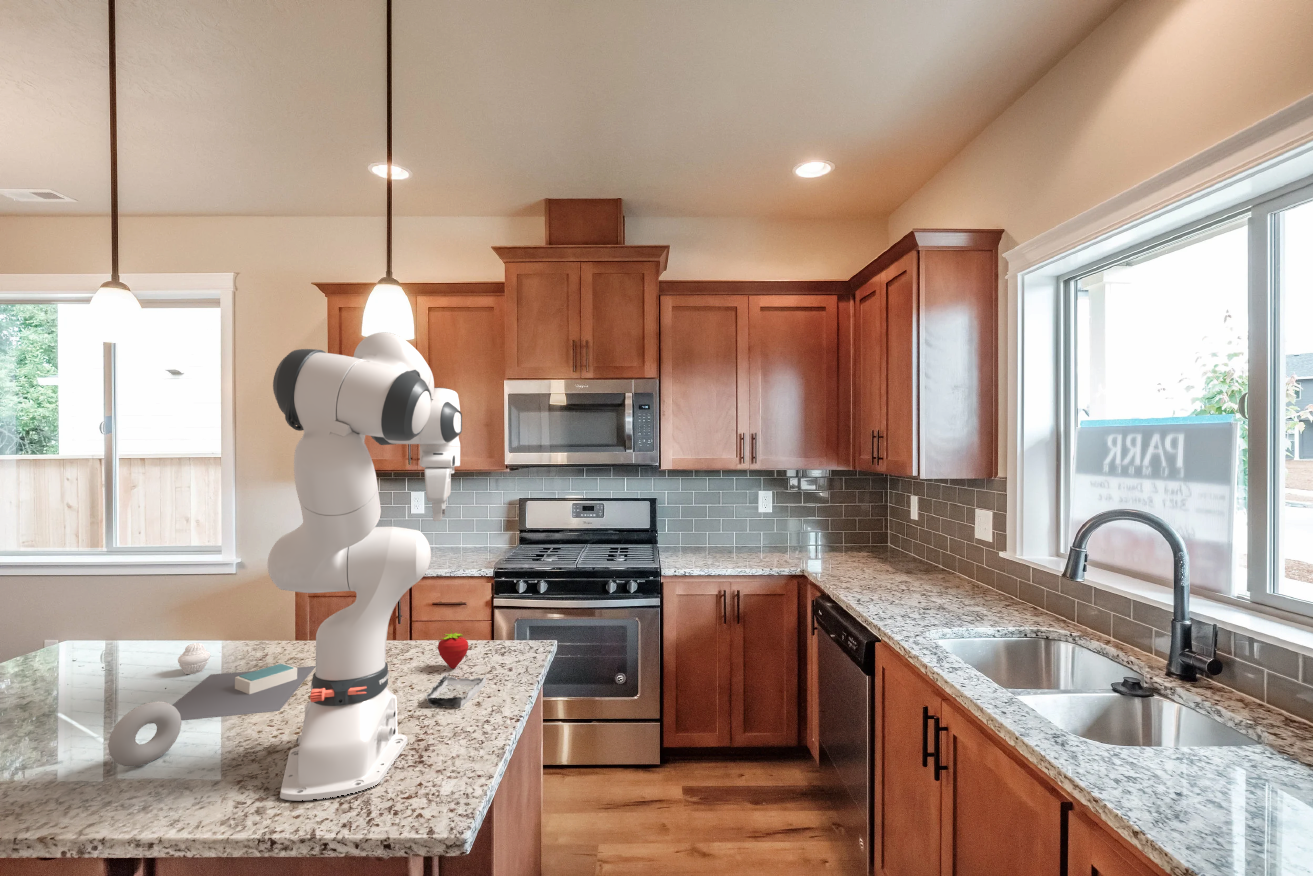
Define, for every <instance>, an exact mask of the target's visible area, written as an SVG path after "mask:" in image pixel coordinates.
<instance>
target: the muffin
mask: <svg viewBox="0 0 1313 876" xmlns="http://www.w3.org/2000/svg"><path fill="white" fill-rule="evenodd" d="M210 658H211V653H210V651H208V650H207V649H206V648H205V645H204V644H203V643H200V642H194V643H191V644H189V645H187V646H186V647H185V649H184V651H183V652H182V654H180V656H179V657H178V658H177V663H178V664H179V667H180V668H181V671H182V672H183V673H184V674H185V675H186V674H193V675H196V674H199V673H202V672H203V671H204V669H205V668H206V666H207V664H208V663H209V661H210Z"/></svg>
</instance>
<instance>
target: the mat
mask: <svg viewBox="0 0 1313 876" xmlns="http://www.w3.org/2000/svg"><path fill="white" fill-rule="evenodd" d="M315 666H316V665H311V666H297V667H296V666H295V667H296V668H297V679H295V680H292V681H289V682H286V683H283V684H280V685H277V686H274V687H271V688H268V689H264V690H261V691H258V692H255V693H252V694H247V693H245V692H242V691H240V690H237V689H235V677H238V676H240V675H243V674H247V673H250V672H254V671H255V670H248V671H238V672H224V673H211V674H209V675H208V676H207V677H206V678H205V679H203V680H202V681H200V682H199V683H198V684H197V685H195V686H194V687H193V688H192V689H191V690H189V691H188V692H187V693H185V694H184V695H182V696H181V697H180V698H179V699H178V700H177V701H176V702H174V703H172V704H171V705H172V706H174V707H176V709H177V710H178V712H179V713H180V716H181V722H183V721H189V720H200V719H201V720H202V719H210V718H222V717H223V718H224V717H230V716H231V717H232V716H241V715H243V716H244V715H253V714H262V713H272V712H280V711H281V710H282V708H284V706H285V705H286V704H287V702H288V701H289V700H290V699H291V697H292V696H293V695H294V694H295V693H296V691H297V690H298V689H299V688H300V687H301V685H302V684H303V683H304V681H305V680H306V679H307V678H308V677H309V676H310V674H311V673H312V672H313V671H314V670H315ZM151 724H152V723H149V725H151Z"/></svg>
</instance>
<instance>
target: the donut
mask: <svg viewBox="0 0 1313 876" xmlns="http://www.w3.org/2000/svg"><path fill="white" fill-rule="evenodd" d="M172 705H173V704H170V703H169V702H165V701H151V702H145V703H143V704H140V705H139V706H136V707H134V708H133V709H131V710H130V711H129V712H127V713H125V715H123V716H122V717H121V718H120V719H119V721H118V722H117V723H116V724H115V725H114V727H113V730H112V731H111V733H110V735H109V738H108V739H109V740H108V742H107V743H108V744H107V747H108V748H107V749H108V753H109V756H110V757H111V758H112V760H113V761H114V762H115V763H117V764H118V765H120V766H123V767H128V768H129V767H130V768H131V767H132V768H135V767H136V768H137V767H141V766H144V765H145V766H146V765H148V764H149V763H151V762H154V761H155V760H158V759H159V758H161V757H162V756H163V755H164V754H166V753H167V752H168V751H169V750H170V749H171V748H172V746H173V745H174V744H175V743H176V741H177V740H178V737H179V735H180V732H181V728H182V724H183V723H182V722H183V721H181V716H180V713H179V712H178V710H177V709H176V707H174V706H172ZM149 723H151V724H154V725H155V726H156V731H155V734H154V735H153V736H152V738H151V739H149V740H148V741H146V742H145V743H137V741H136V737H137V735H138V732H139V731H140V730H141V729H142V728H143V727H144V726H145V725H148V724H149ZM149 725H150V724H149Z"/></svg>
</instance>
